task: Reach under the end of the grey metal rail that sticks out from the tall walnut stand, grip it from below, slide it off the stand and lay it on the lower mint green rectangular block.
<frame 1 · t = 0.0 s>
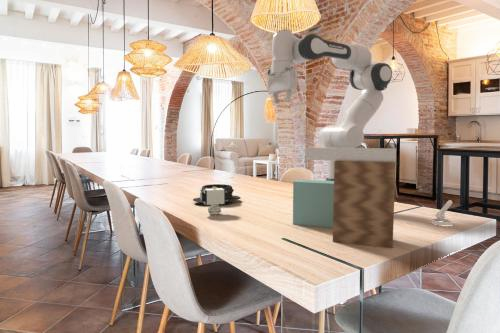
hand: (281, 102, 159), 48 cm above the table, tool pointing down, fingers open, 8 cm apart
pneumatic valve: (214, 214, 161), on the table
hook: (441, 224, 143), on the table
casserole: (217, 202, 189), on the table
rail: (349, 160, 121), point 26 cm above the table, touching stand
mint green rectangular block: (316, 223, 143), on the table
stand: (363, 240, 121), on the table
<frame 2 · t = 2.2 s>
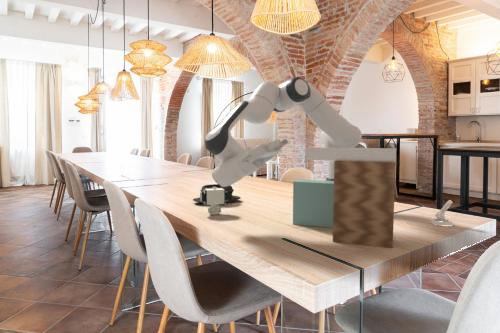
hand: (283, 140, 128), 32 cm above the table, tool pointing upward, fingers open, 8 cm apart
nothing on the table moved.
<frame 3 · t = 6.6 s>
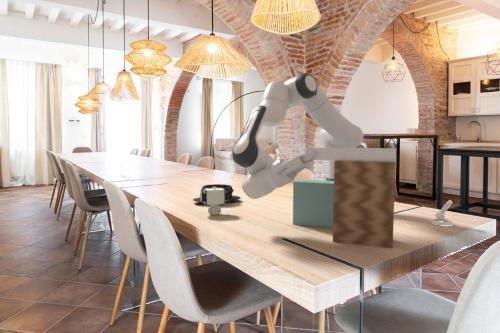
hand: (318, 152, 124), 28 cm above the table, tool pointing upward, fingers closed on rail, 4 cm apart
rail: (349, 160, 121), point 26 cm above the table, touching gripper, stand
everything else where it was.
when the fingers open (21 cm above the table, at t = 13.8 s): rail stays where it is, resting on mint green rectangular block.
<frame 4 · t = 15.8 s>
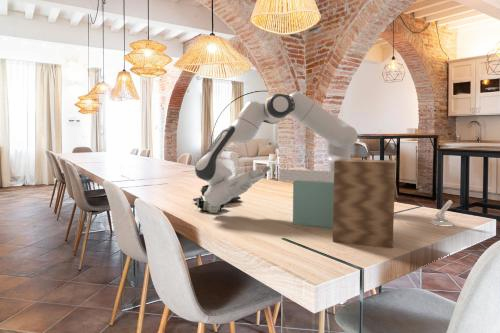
hand: (265, 168, 149), 21 cm above the table, tool pointing upward, fingers open, 8 cm apart
pneumatic valve: (214, 210, 162), point 1 cm above the table
rail: (316, 181, 142), point 16 cm above the table, touching mint green rectangular block
everything else where it was.
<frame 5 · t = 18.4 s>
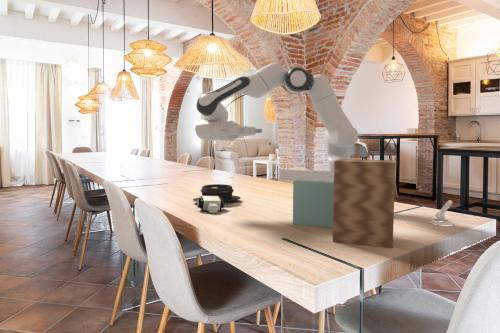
hand: (258, 130, 161), 36 cm above the table, tool horizontal, fingers open, 8 cm apart
nothing on the table moved.
at the end: rail inside the target area on the mint green rectangular block (0.6 cm from its centre), point 16.5 cm above the mint green rectangular block's base; rail touching mint green rectangular block; the gripper is holding nothing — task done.
